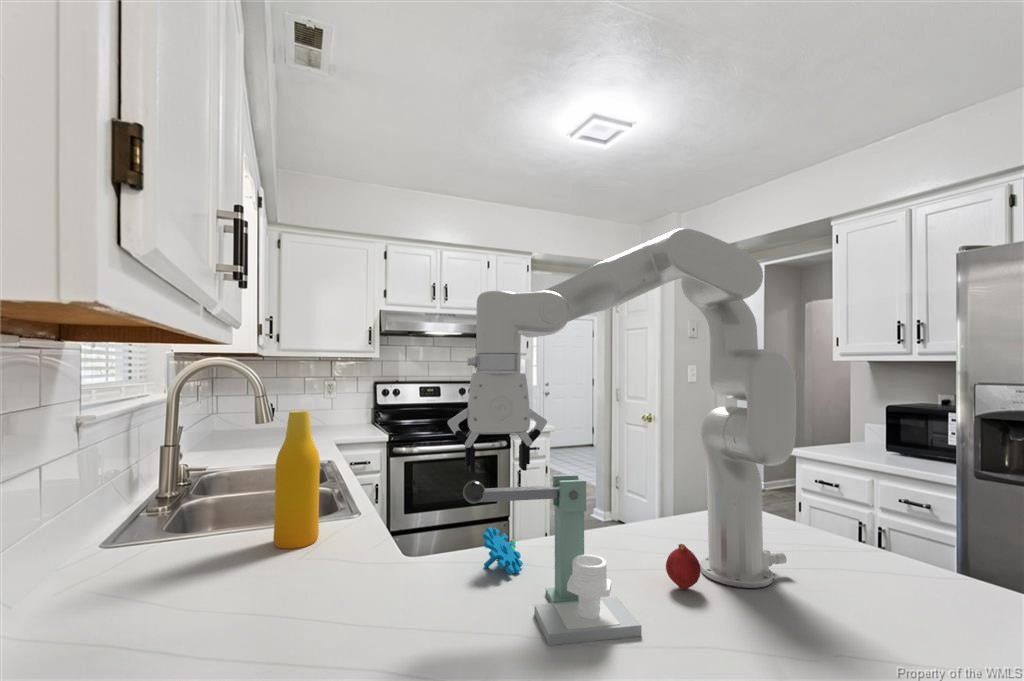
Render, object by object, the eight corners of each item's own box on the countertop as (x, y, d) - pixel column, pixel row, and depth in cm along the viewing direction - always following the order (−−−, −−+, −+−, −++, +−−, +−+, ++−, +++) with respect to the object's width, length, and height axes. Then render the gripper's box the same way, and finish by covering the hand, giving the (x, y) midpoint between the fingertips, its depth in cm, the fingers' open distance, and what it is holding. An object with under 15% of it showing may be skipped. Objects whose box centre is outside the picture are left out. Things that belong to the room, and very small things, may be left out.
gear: (511, 575, 91) (479, 528, 95) (489, 595, 92) (458, 548, 96) (533, 562, 100) (504, 520, 105) (513, 580, 101) (484, 538, 106)
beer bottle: (326, 541, 112) (329, 411, 114) (285, 553, 105) (288, 414, 107) (306, 532, 118) (308, 408, 120) (266, 542, 111) (269, 411, 113)
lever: (577, 495, 88) (576, 474, 88) (583, 500, 84) (583, 479, 84) (462, 500, 84) (462, 478, 84) (464, 506, 81) (464, 483, 81)
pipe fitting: (612, 606, 79) (612, 554, 79) (607, 629, 72) (608, 572, 73) (572, 600, 81) (572, 550, 81) (564, 622, 74) (564, 567, 74)
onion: (676, 579, 93) (675, 535, 93) (706, 589, 89) (705, 543, 89) (660, 589, 89) (659, 543, 89) (691, 600, 85) (690, 551, 85)
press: (602, 588, 89) (601, 473, 90) (641, 635, 73) (640, 495, 74) (525, 594, 86) (525, 475, 87) (548, 645, 71) (548, 500, 72)
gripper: (447, 364, 79) (446, 476, 78) (554, 365, 82) (553, 472, 81) (445, 364, 87) (443, 467, 86) (542, 365, 90) (542, 463, 89)
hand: (497, 469), depth 84 cm, fingers open, 8 cm apart
